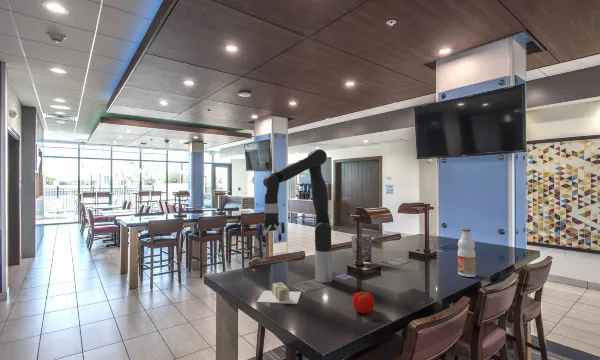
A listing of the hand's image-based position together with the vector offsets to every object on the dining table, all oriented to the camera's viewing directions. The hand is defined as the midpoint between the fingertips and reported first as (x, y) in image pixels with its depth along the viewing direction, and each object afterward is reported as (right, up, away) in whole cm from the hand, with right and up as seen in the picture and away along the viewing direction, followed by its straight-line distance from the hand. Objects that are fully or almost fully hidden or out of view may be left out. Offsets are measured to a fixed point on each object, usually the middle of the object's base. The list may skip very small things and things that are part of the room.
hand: (271, 242), depth 165 cm
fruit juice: (+115, -24, +18) cm, 119 cm away
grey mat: (+5, -24, -16) cm, 29 cm away
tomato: (+43, -23, -34) cm, 59 cm away
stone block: (+58, -25, +47) cm, 79 cm away
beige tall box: (+8, -21, -21) cm, 31 cm away
